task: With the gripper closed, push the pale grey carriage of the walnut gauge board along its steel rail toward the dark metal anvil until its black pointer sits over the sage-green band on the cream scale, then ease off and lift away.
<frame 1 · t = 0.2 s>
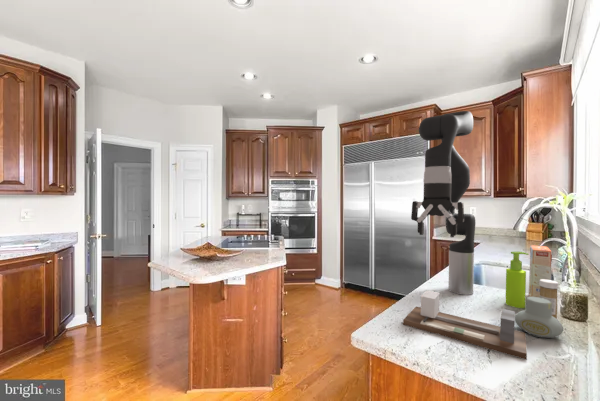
hand: (436, 235, 85), 28 cm above the counter, fingers open, 8 cm apart
air freshener: (537, 334, 83), on the counter
carriage: (428, 306, 89), point 5 cm above the counter, slide at 0.0 cm
sprinkles bottle: (547, 322, 91), on the counter
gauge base: (461, 330, 84), on the counter
cracker box: (539, 301, 110), on the counter
soap dispenser: (516, 305, 105), on the counter
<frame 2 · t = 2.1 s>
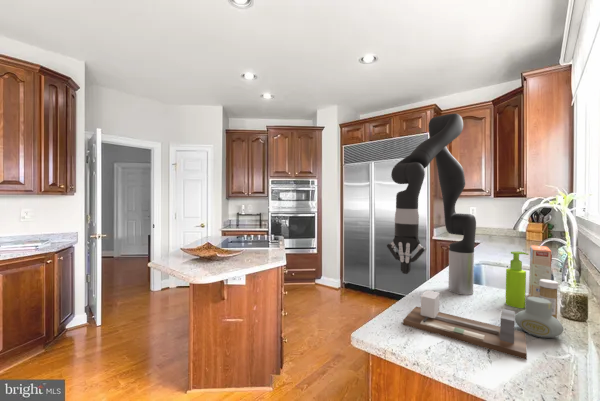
hand: (405, 273, 95), 14 cm above the counter, fingers closed
nothing on the counter moved.
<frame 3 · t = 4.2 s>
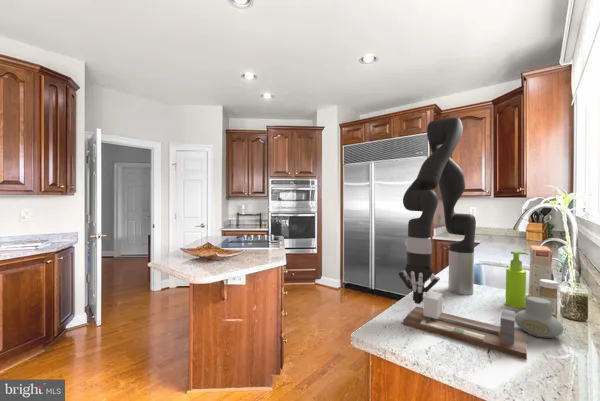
hand: (417, 302, 93), 5 cm above the counter, fingers closed
carriage: (431, 306, 88), point 5 cm above the counter, slide at 0.8 cm, touching gripper
everything else where it was.
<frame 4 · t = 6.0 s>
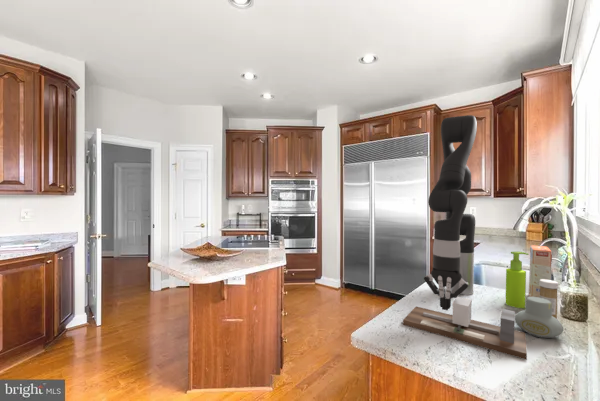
hand: (445, 309, 88), 5 cm above the counter, fingers closed
carriage: (461, 313, 83), point 5 cm above the counter, slide at 8.9 cm, touching gripper
everything else where it was.
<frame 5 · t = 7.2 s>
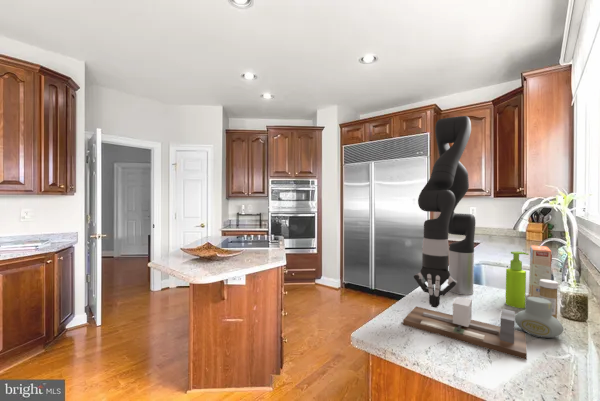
hand: (434, 306, 89), 5 cm above the counter, fingers closed
carriage: (461, 313, 83), point 5 cm above the counter, slide at 9.0 cm
everything else where it was.
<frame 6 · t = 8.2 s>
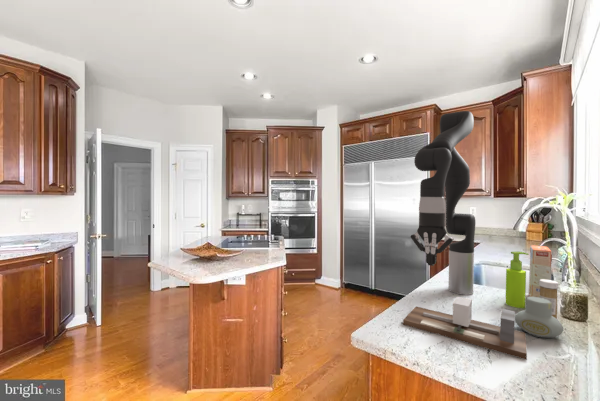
hand: (430, 265, 90), 18 cm above the counter, fingers closed
nothing on the counter moved.
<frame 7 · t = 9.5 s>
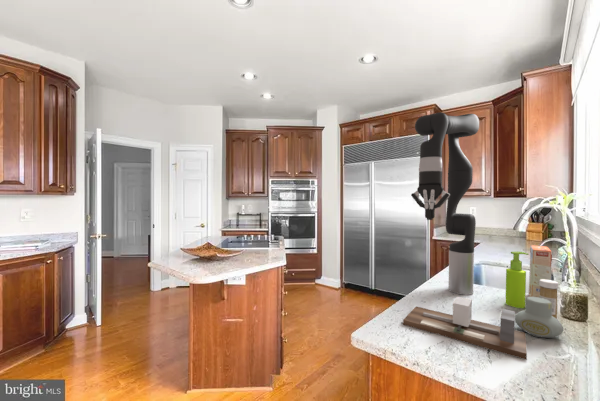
hand: (429, 219, 100), 32 cm above the counter, fingers closed
nothing on the counter moved.
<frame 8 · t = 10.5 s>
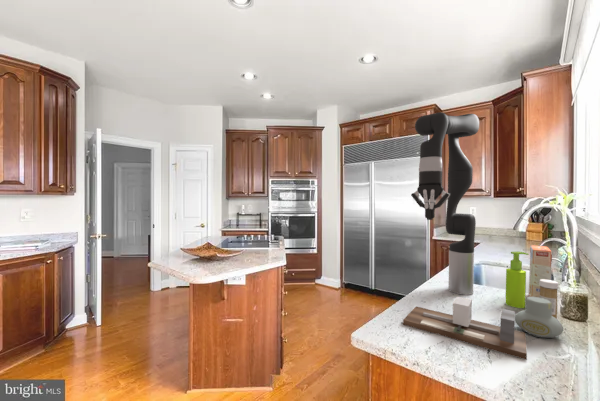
hand: (429, 219, 100), 32 cm above the counter, fingers closed
nothing on the counter moved.
at the end: carriage slide at 9.0 cm; carriage touching nothing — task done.
